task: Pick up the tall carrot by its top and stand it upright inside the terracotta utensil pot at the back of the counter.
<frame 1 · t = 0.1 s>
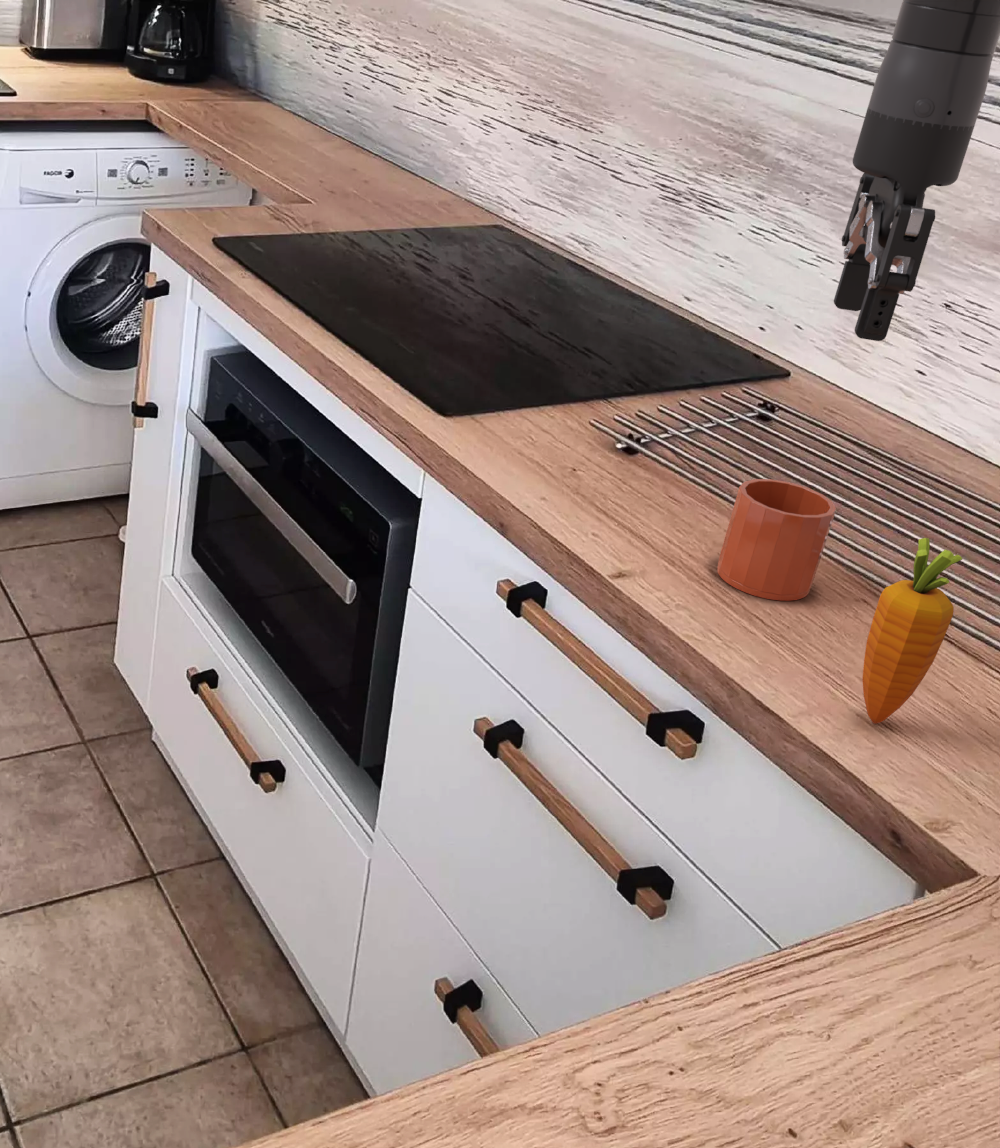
hand: (857, 323, 118), 25 cm above the table, tool pointing down, fingers open, 8 cm apart
utensil pot: (762, 579, 134), on the table
carrot: (873, 724, 113), on the table
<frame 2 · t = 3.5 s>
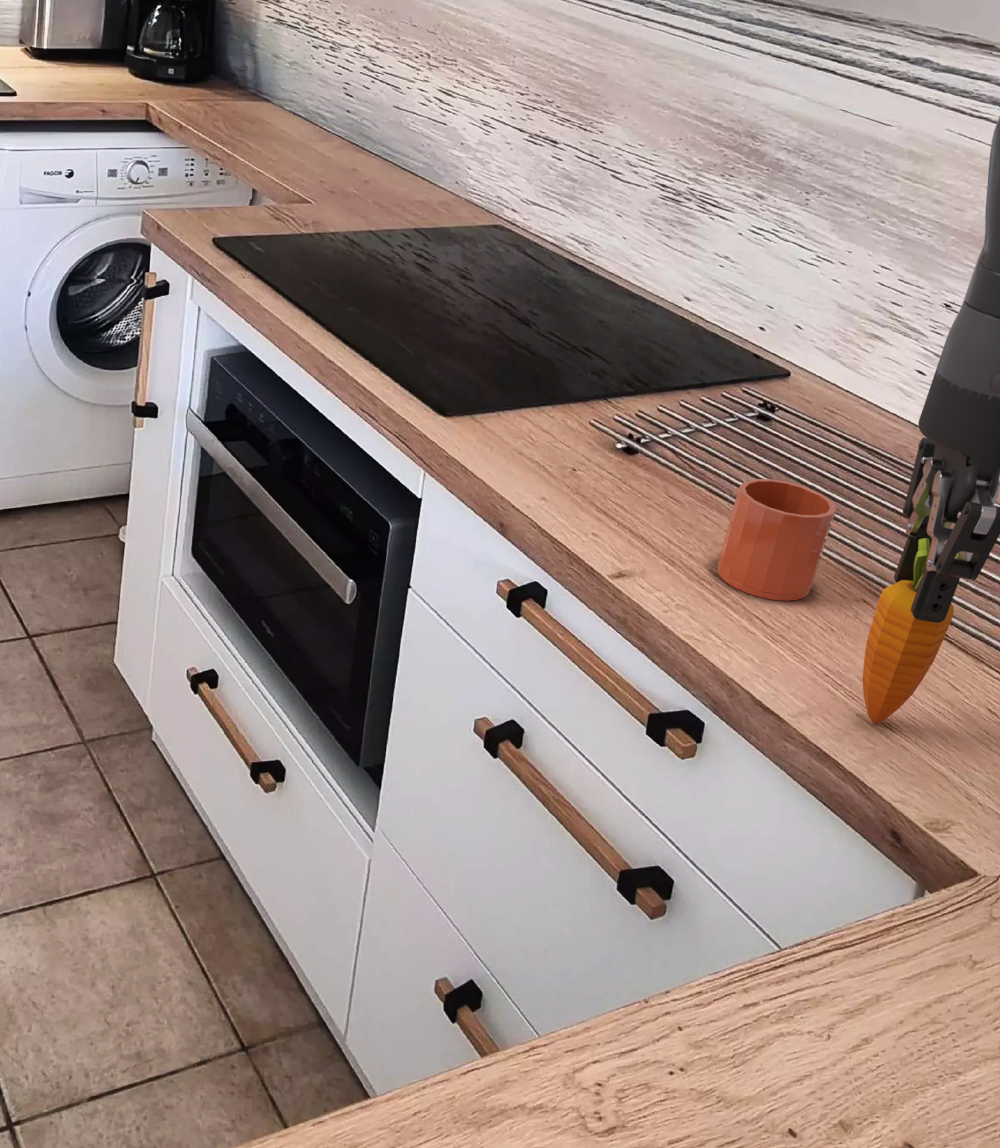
hand: (917, 601, 108), 10 cm above the table, tool pointing down, fingers closed on carrot, 4 cm apart
carrot: (873, 725, 113), on the table, touching gripper
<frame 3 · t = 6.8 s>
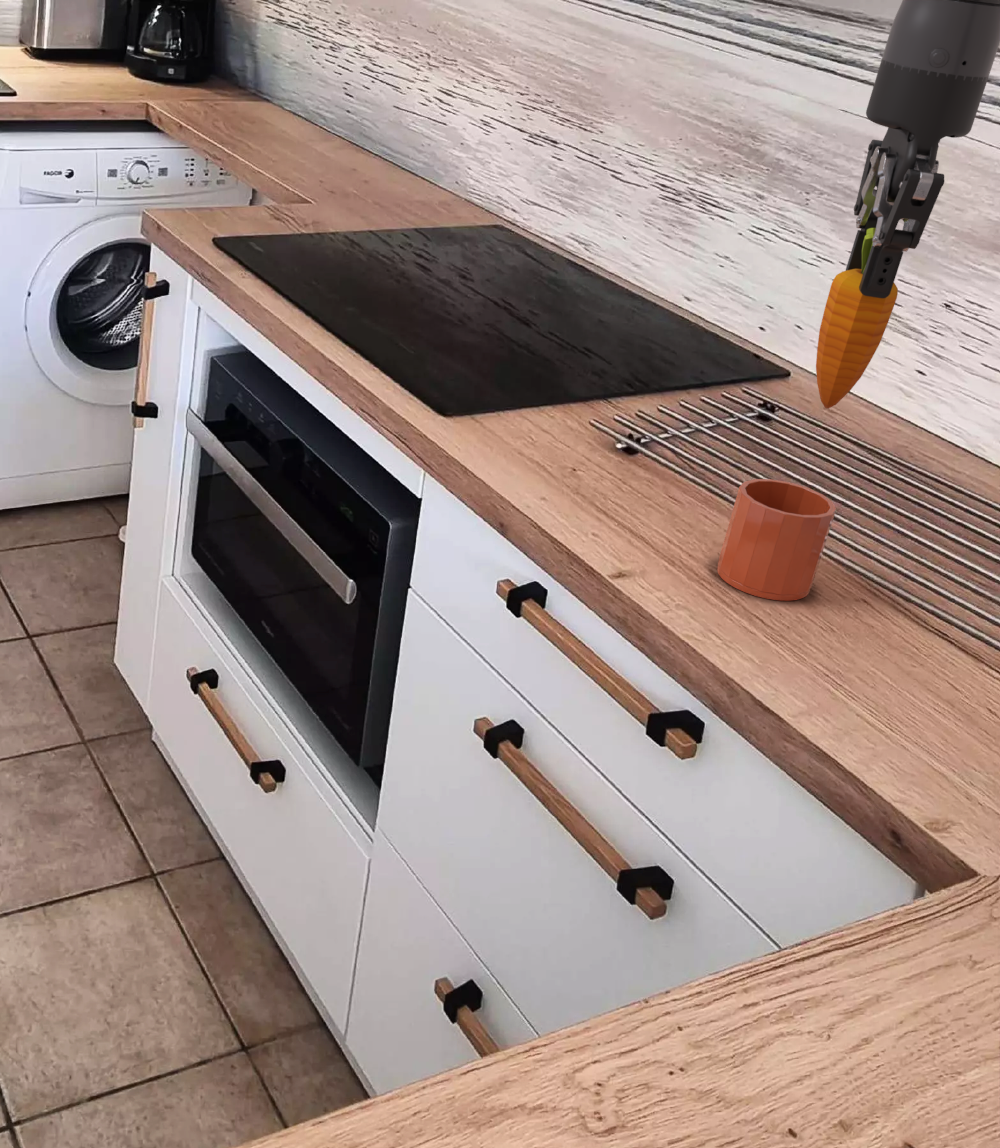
hand: (865, 285, 119), 28 cm above the table, tool pointing down, fingers closed on carrot, 4 cm apart
carrot: (826, 410, 123), point 17 cm above the table, touching gripper
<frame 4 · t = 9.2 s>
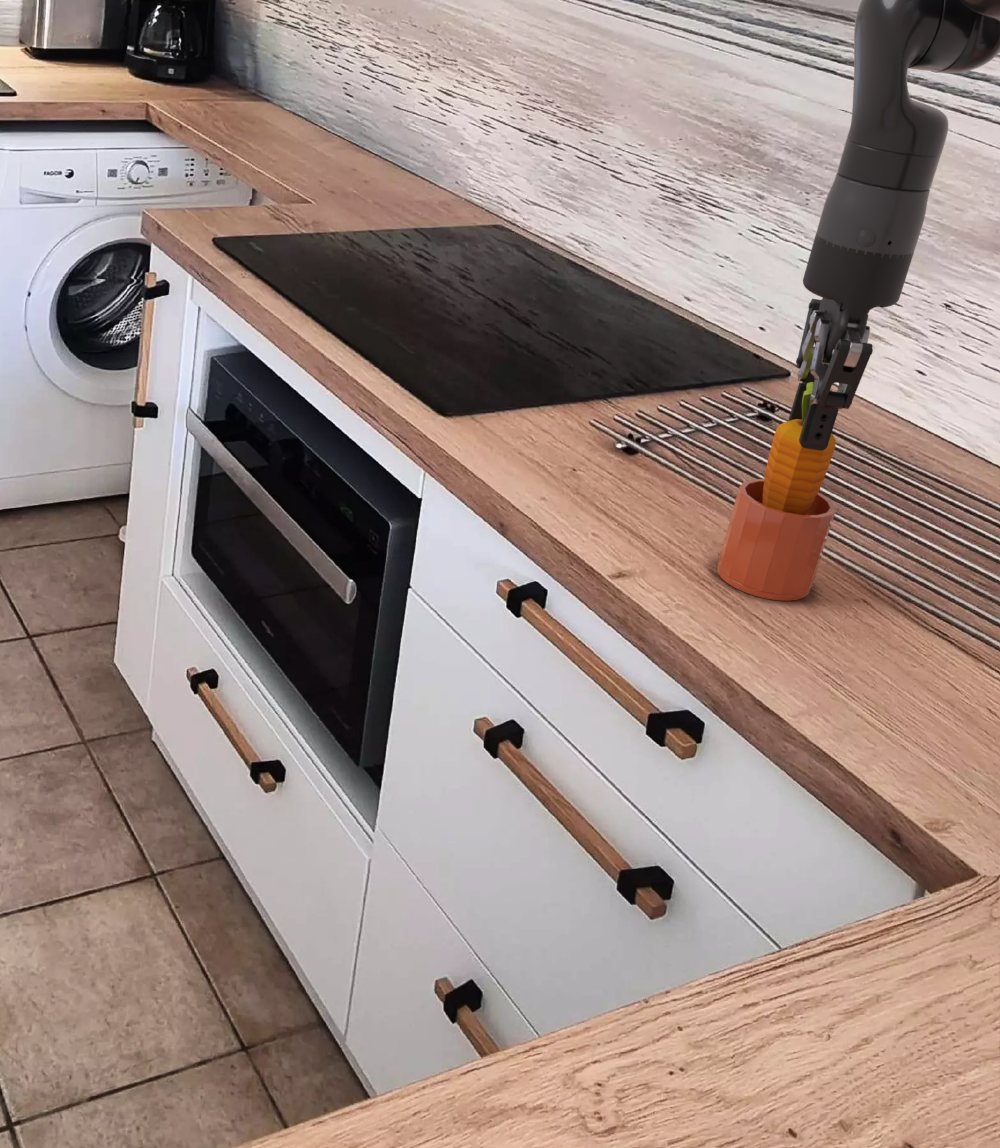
hand: (806, 435, 127), 14 cm above the table, tool pointing down, fingers closed on carrot, 4 cm apart
carrot: (772, 547, 132), point 3 cm above the table, touching gripper
when the fingers open (11 cm above the table, at t = 10.5 s): carrot stays where it is, resting on utensil pot.
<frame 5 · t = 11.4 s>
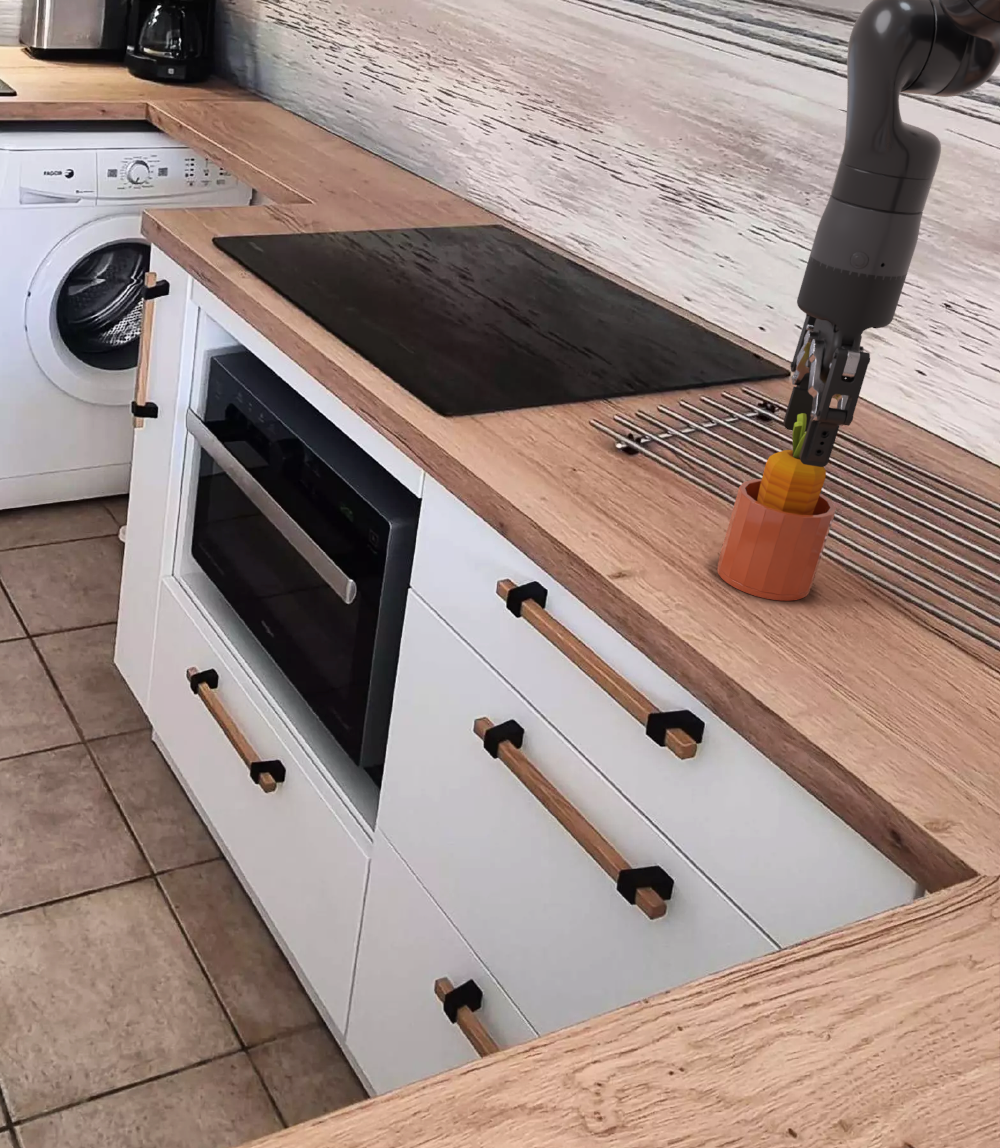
hand: (803, 446, 128), 13 cm above the table, tool pointing down, fingers open, 8 cm apart
carrot: (763, 576, 133), resting on utensil pot
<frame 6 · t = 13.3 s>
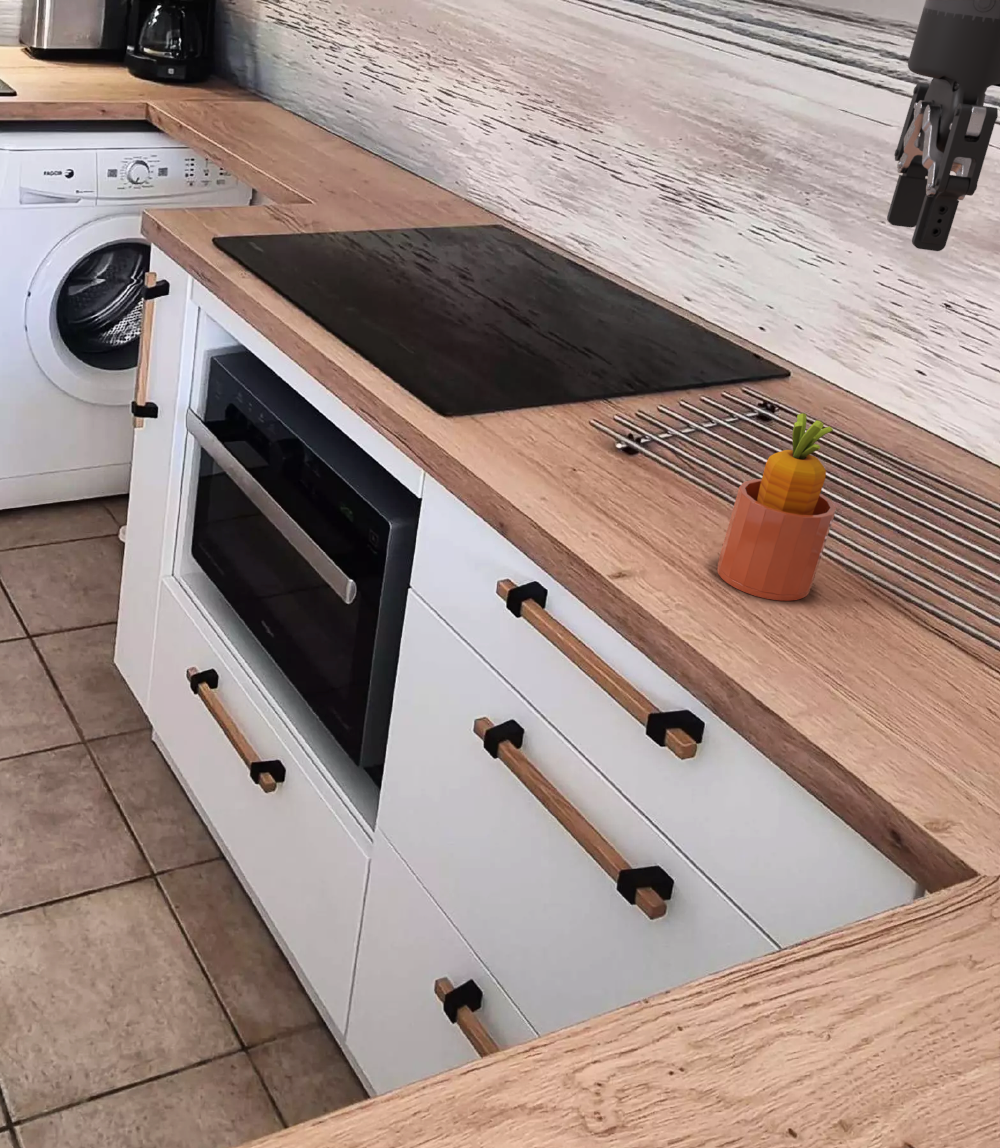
hand: (913, 236, 114), 32 cm above the table, tool pointing down, fingers open, 8 cm apart
nothing on the table moved.
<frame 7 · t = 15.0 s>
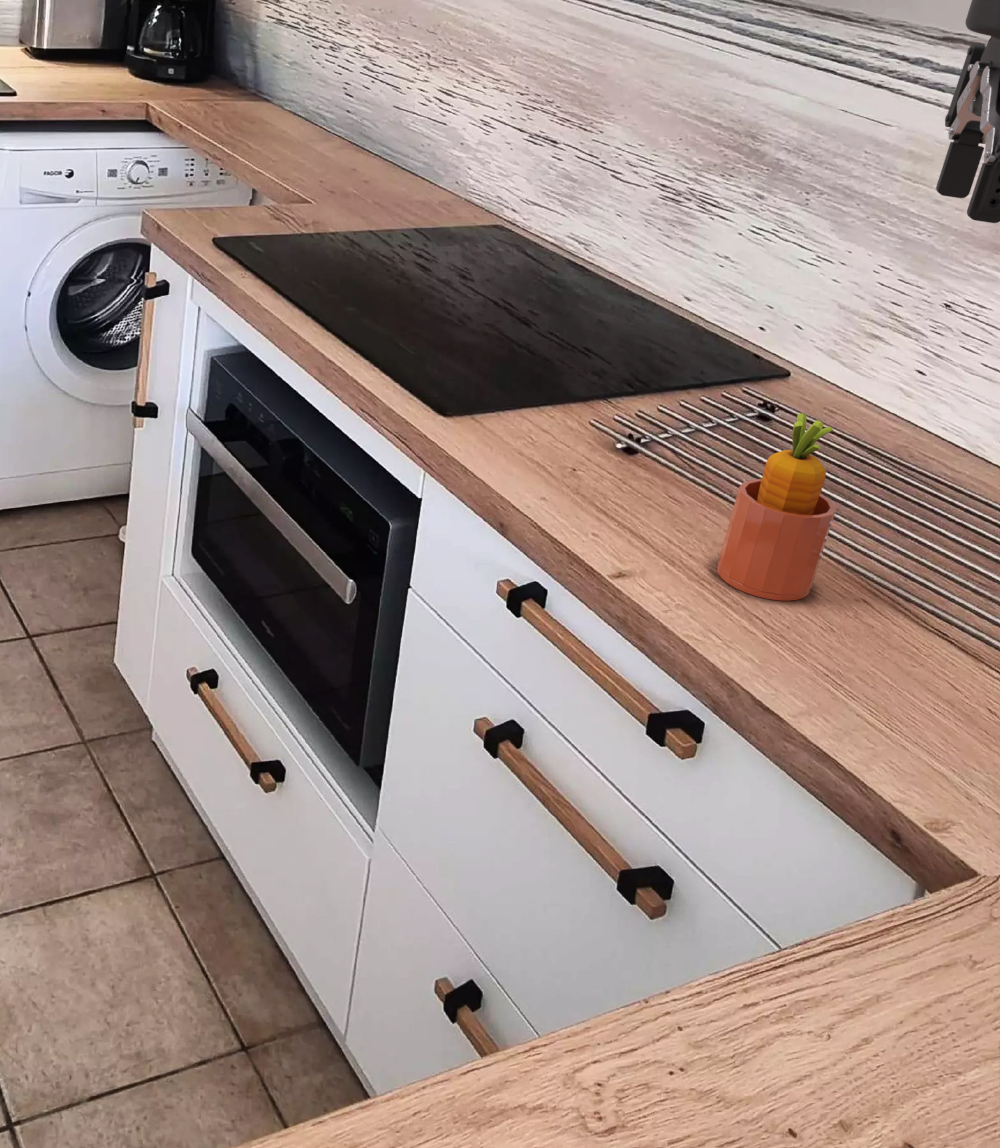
hand: (966, 207, 107), 36 cm above the table, tool pointing down, fingers open, 8 cm apart
nothing on the table moved.
at the end: carrot 0.1 cm off-centre in the utensil pot, point 0.4 cm above the utensil pot's base; carrot tilted 0°; the gripper is holding nothing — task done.
